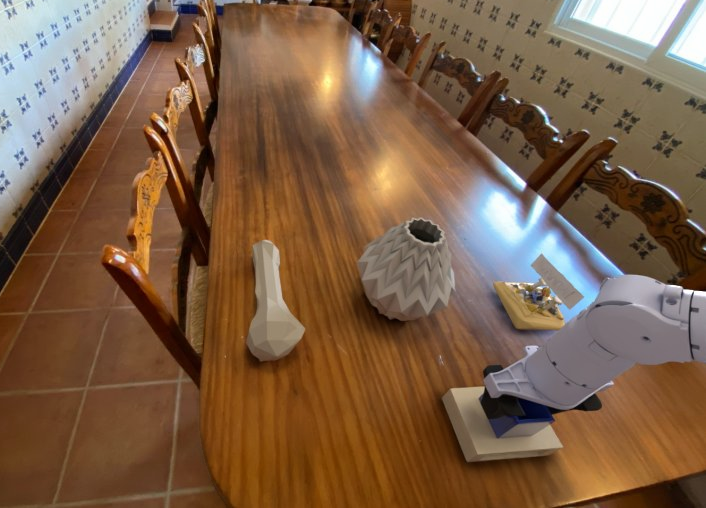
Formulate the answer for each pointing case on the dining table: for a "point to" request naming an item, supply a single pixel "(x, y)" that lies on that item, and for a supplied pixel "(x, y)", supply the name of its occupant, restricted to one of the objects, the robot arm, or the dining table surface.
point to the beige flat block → (490, 431)
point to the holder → (522, 420)
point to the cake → (538, 298)
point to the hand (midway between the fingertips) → (513, 408)
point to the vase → (408, 270)
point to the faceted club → (271, 309)
